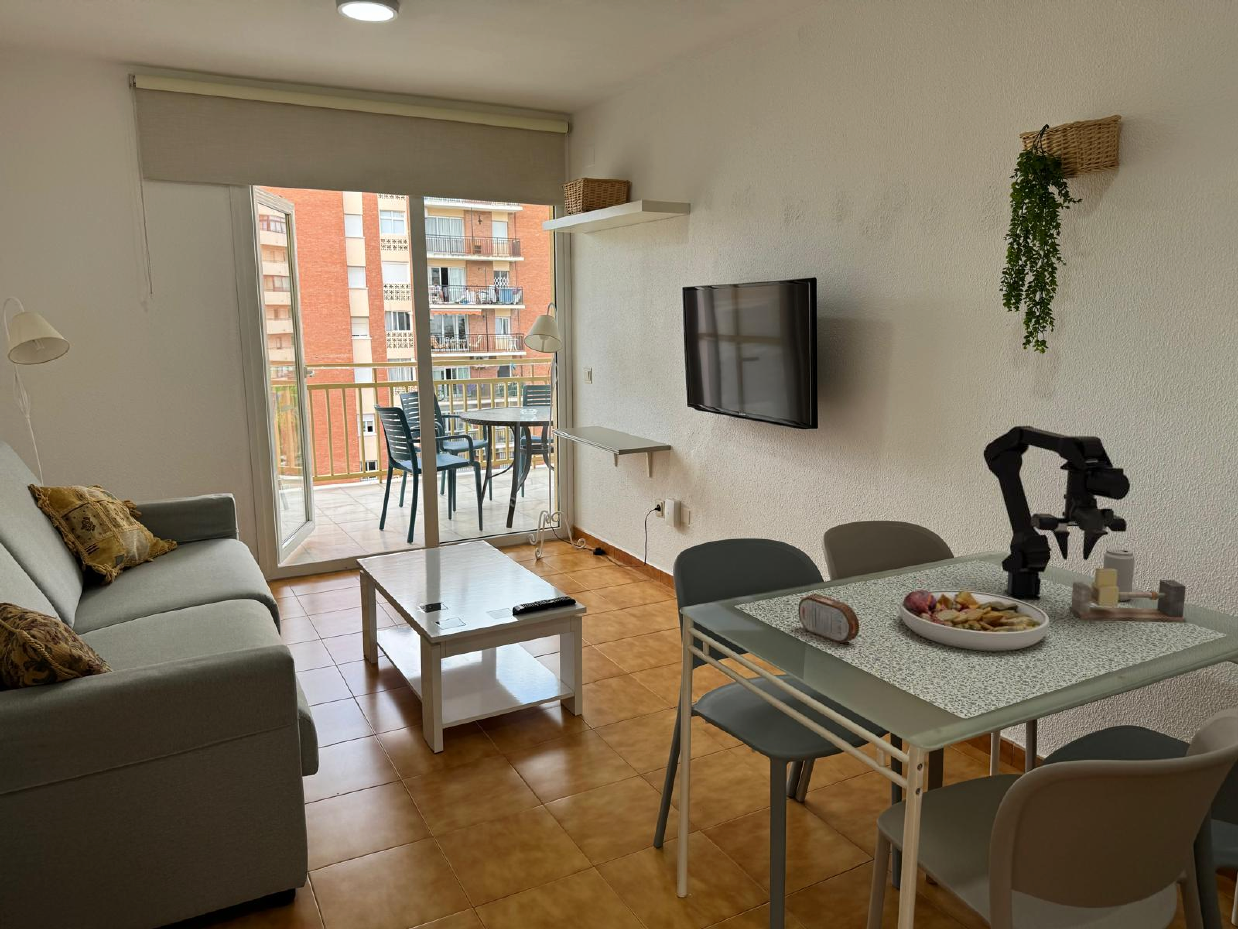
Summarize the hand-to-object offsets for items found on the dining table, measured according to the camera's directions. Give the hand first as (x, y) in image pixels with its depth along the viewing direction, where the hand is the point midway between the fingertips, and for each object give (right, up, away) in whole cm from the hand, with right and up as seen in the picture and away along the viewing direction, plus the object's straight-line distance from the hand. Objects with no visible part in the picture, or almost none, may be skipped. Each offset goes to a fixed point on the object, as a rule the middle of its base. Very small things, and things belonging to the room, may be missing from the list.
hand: (1075, 559), depth 198 cm
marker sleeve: (+7, -10, +1) cm, 12 cm away
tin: (-60, -15, -12) cm, 63 cm away
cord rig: (+12, -13, +1) cm, 18 cm away
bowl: (-27, -15, -8) cm, 32 cm away
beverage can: (+17, -11, +14) cm, 25 cm away
